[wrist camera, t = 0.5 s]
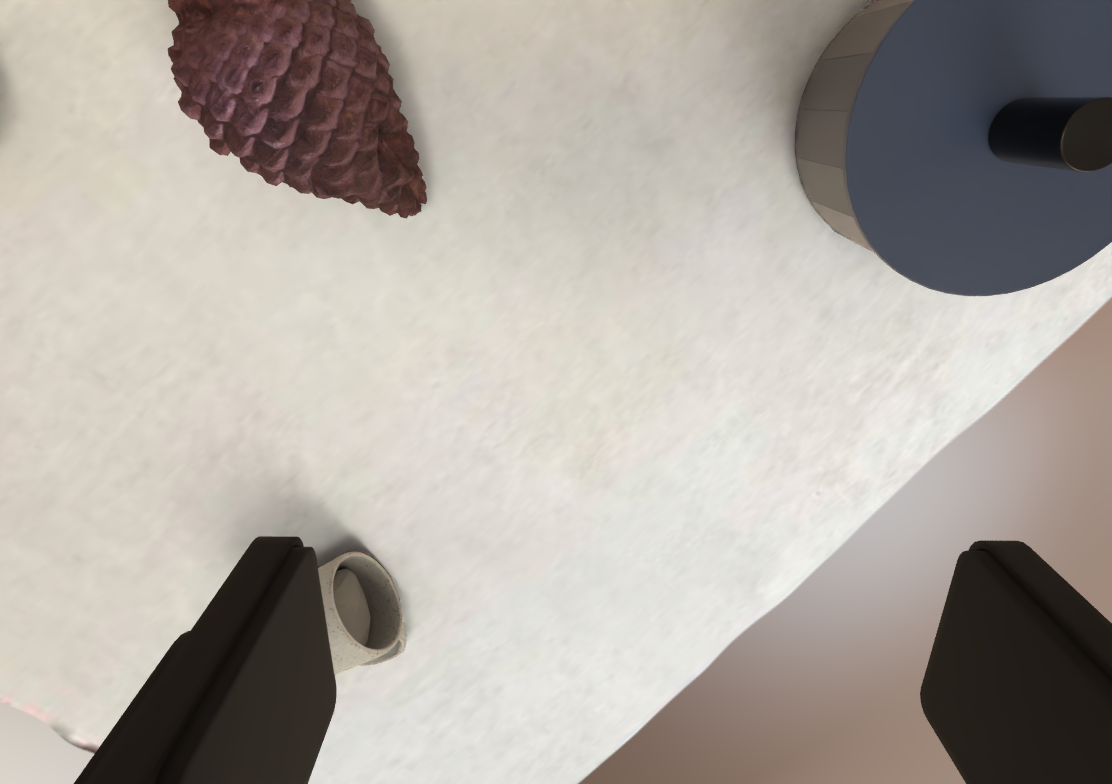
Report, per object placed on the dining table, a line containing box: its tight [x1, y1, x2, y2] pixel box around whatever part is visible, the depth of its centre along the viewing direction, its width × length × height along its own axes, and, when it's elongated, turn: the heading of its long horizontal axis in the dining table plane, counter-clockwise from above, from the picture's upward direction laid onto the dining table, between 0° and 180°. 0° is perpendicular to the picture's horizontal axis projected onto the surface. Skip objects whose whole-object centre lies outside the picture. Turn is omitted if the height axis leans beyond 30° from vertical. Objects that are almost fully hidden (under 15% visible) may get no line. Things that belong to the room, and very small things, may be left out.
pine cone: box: [168, 0, 427, 218], centre depth 35 cm, size 18×10×10 cm
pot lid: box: [842, 0, 1112, 296], centre depth 30 cm, size 16×16×6 cm
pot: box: [795, 0, 911, 253], centre depth 36 cm, size 15×15×8 cm
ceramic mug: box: [318, 552, 406, 675], centre depth 50 cm, size 11×8×8 cm
